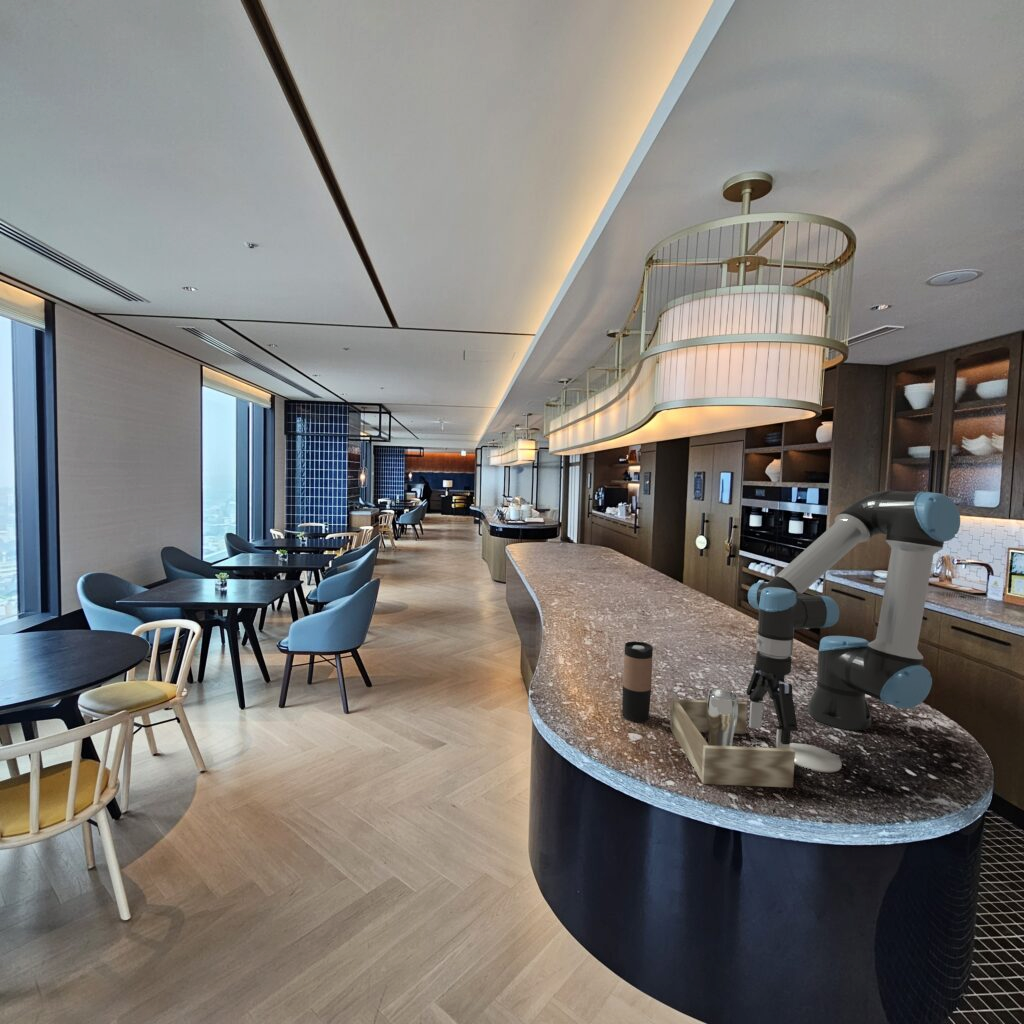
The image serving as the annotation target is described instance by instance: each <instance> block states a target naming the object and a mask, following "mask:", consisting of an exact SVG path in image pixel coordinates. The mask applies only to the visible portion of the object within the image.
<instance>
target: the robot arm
mask: <svg viewBox="0 0 1024 1024" xmlns="http://www.w3.org/2000/svg"><path fill="white" fill-rule="evenodd" d="M960 528H961V514H960V511H959V507H958V505H956V504H955V501H954V500H953V499H952V498H951V497H949V496H947V495H946V494H944V493H939V492H930V491H900V490H899V491H898V490H897V491H895V490H881V491H877V492H873V493H870V494H868V495H866V496H864V497H862V498H860V499H858V500H855V502H854V503H852V504H850V505H848V506H847V507H846V508H845V509H843V511H841V512H840V513H839V514H838V515H837V516H835V518H834V523H833V525H831V526H830V527H829V528H828V529H827V530H825V531H824V532H823V533H822V534H821V535H820V536H819V537H817V539H815V540H813V542H812V543H811V544H809V545H808V546H807V547H806V548H805V549H804V550H803V551H802V552H800V554H798V555H797V556H796V557H795V558H794V559H793V560H792V561H791V562H790V563H788V564H787V565H786V566H785V567H784V568H783V569H781V571H780V572H778V573H777V574H776V575H775V576H774V577H772V578H771V579H770V580H769V581H768V582H763V581H761V582H756V583H753V584H752V585H751V586H750V587H749V590H748V591H747V600H748V603H749V605H750V606H751V607H752V608H754V609H755V610H757V611H758V622H757V623H758V624H757V638H756V639H755V642H756V650H757V652H755V655H756V656H755V663H754V666H753V672H752V674H751V678H750V681H749V683H748V686H747V687H746V695H747V696H749V700H750V706H749V709H750V710H749V722H748V727H749V729H762V724H763V723H762V721H763V707H764V706H763V705H764V703H763V702H764V701H765V700H764V697H765V696H766V694H767V693H768V695H769V698H770V699H771V700H772V702H773V706H774V710H775V714H776V718H777V723H778V726H776V738H775V748H785V749H789V747H790V744H791V734H792V733H791V732H797V731H798V730H799V729H798V723H797V717H796V715H797V714H796V710H795V703H794V698H793V697H794V696H793V684H792V683H786V681H785V676H787V675H789V674H790V673H791V671H792V661H793V660H792V657H791V656H792V655H793V648H794V647H793V645H794V635H795V629H798V630H799V629H823V628H830V627H832V626H834V625H836V624H837V622H838V621H839V618H840V608H839V606H838V605H839V604H838V603H837V602H836V601H835V599H834V598H832V597H830V596H828V595H827V596H826V595H821V594H820V595H819V594H817V595H810V594H806V593H804V592H806V590H808V589H809V588H810V587H811V586H812V585H814V583H816V582H817V581H818V580H820V578H821V577H823V576H824V575H825V574H826V573H827V572H828V571H829V570H830V569H831V568H832V567H833V566H834V565H836V563H838V562H839V561H840V560H841V559H842V558H844V557H845V556H846V555H847V554H848V553H849V552H850V551H851V550H852V549H854V548H855V547H856V545H858V544H860V543H865V542H867V541H869V539H871V538H872V537H874V536H877V535H886V537H885V542H886V543H887V544H888V546H889V547H890V548H891V549H890V556H889V560H888V561H889V562H888V568H887V572H886V578H885V579H886V580H885V584H884V590H883V596H882V601H881V607H880V608H881V609H880V612H879V619H878V624H877V631H876V636H875V639H874V640H871V641H868V640H867V639H865V638H862V637H856V636H849V635H846V636H845V635H828V636H824V637H822V638H821V639H820V641H819V649H818V655H817V675H816V676H817V678H816V686H815V689H814V692H813V693H812V695H811V697H810V700H809V701H808V706H807V713H808V715H809V716H810V717H812V718H813V719H814V720H816V721H818V722H820V723H823V724H825V725H827V726H830V727H834V728H837V729H838V728H839V729H842V730H843V729H844V730H849V731H864V730H865V731H866V730H868V729H870V728H871V727H872V716H871V712H870V708H869V705H868V701H867V699H866V695H867V696H870V697H871V698H874V699H876V700H879V701H880V702H882V703H884V704H885V705H887V706H888V705H890V706H893V707H895V708H899V709H900V710H901V709H902V710H909V709H912V708H915V707H917V706H919V705H920V704H921V703H923V702H924V701H925V700H926V698H927V697H928V695H929V694H930V691H931V690H932V689H931V688H932V686H933V678H932V676H931V672H930V671H929V670H928V669H927V668H926V667H925V666H923V661H924V656H923V655H922V653H921V652H920V651H919V649H918V645H919V639H920V634H921V628H922V623H923V618H924V617H923V616H924V611H925V607H926V606H925V605H926V599H927V594H928V588H929V582H930V578H931V572H932V565H933V559H934V556H935V554H937V553H938V552H940V551H941V550H943V549H944V543H945V542H947V541H951V540H953V539H954V538H955V537H956V535H957V534H958V533H959V530H960Z"/></svg>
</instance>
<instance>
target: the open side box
mask: <svg viewBox="0 0 1024 1024" xmlns="http://www.w3.org/2000/svg"><path fill="white" fill-rule="evenodd" d="M706 710H707V700H706V699H705V700H704V699H701V700H700V699H679V698H674V699H673V698H671V709H670V727H669V728H670V731H671V732H672V735H673V736H674V738H675V739H676V741H677V742H678V744H679V746H680V748H681V749H682V751H683V752H684V754H685V756H686V757H687V759H688V760H689V762H690V764H691V766H692V768H693V767H694V768H693V769H694V771H695V773H696V772H697V773H696V775H698V777H699V779H700V781H701V783H702V784H703V785H717V786H719V785H721V786H722V785H723V786H741V787H742V786H744V787H745V786H746V787H748V786H749V787H770V788H771V787H773V788H794V775H795V773H794V772H795V763H794V762H795V751H794V750H793V749H785V748H776V747H760V746H759V747H758V746H757V747H756V746H755V747H753V746H735V745H734V746H733V745H732V746H709V745H708V742H707V741H706V739H705V738H704V736H703V735H702V733H708V725H707V715H706ZM747 712H748V703H747V702H746V701H738V718H737V724H736V728H735V732H734V734H743V735H744V734H745V735H746V732H747V730H746V729H747V714H748V713H747Z"/></svg>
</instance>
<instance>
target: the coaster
mask: <svg viewBox="0 0 1024 1024" xmlns="http://www.w3.org/2000/svg"><path fill="white" fill-rule="evenodd" d="M789 749H793V750H794V751H795V762H794V765H796V766H799V767H801V768H803V767H804V768H805V769H806V768H807V770H809V769H811V770H810V771H813V772H814V771H815V772H819V773H826V774H827V773H836V772H839V771H841V769H842V766H843V765H842V761H841V760H840V758H839V757H838V756H837V755H835V754H833V753H832V752H831V751H828V750H826V749H824V748H821V747H819V746H817V745H810V744H806V743H790V747H789ZM804 768H803V769H804Z"/></svg>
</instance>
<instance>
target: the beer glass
mask: <svg viewBox="0 0 1024 1024" xmlns="http://www.w3.org/2000/svg"><path fill="white" fill-rule="evenodd" d="M738 702H739V695H738V694H737V693H736V692H733V691H732V690H729V689H724V688H711V689H709V690H708V693H707V710H706V715H707V725H708V732H707V733H708V742H707V743H708V745H709V746H733V739H734V735H735V733H734V732H735V728H736V724H737V718H738Z"/></svg>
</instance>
